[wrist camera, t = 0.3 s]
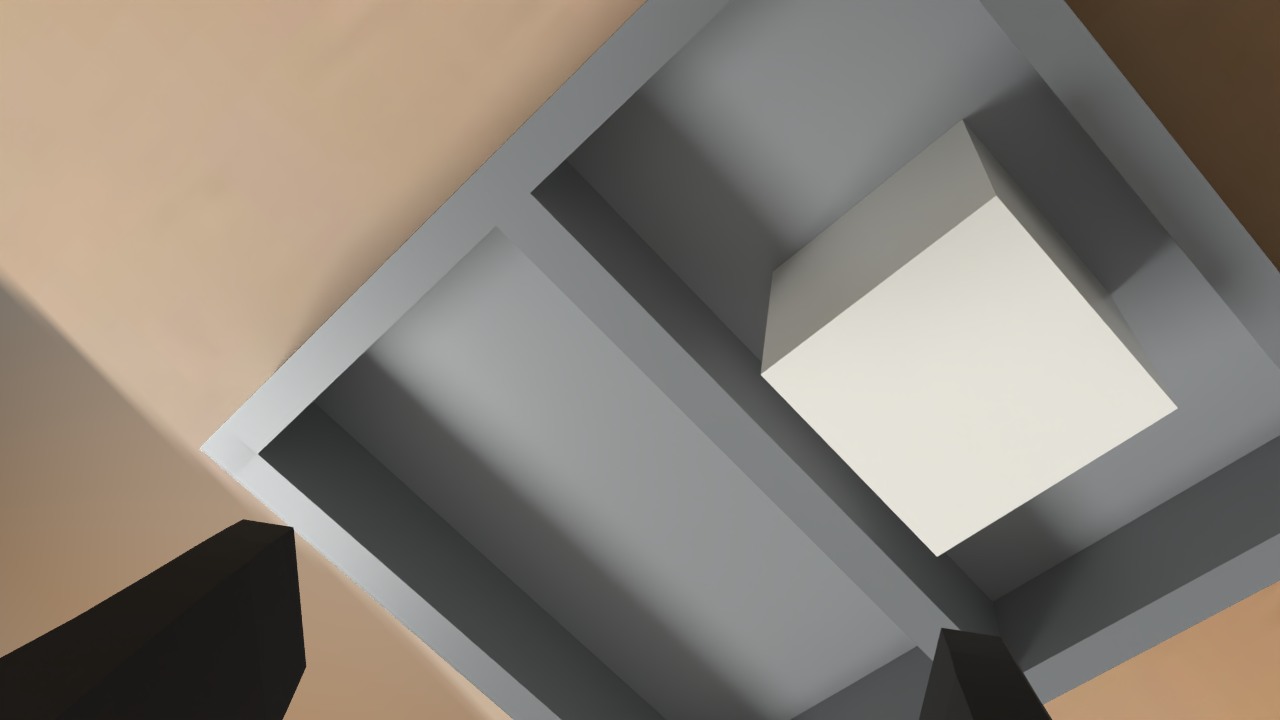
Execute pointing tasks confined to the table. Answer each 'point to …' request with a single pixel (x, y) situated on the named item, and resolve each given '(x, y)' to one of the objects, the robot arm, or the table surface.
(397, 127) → the table surface
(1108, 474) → the divided tray
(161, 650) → the robot arm
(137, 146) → the table surface
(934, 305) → the white block
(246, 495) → the table surface
